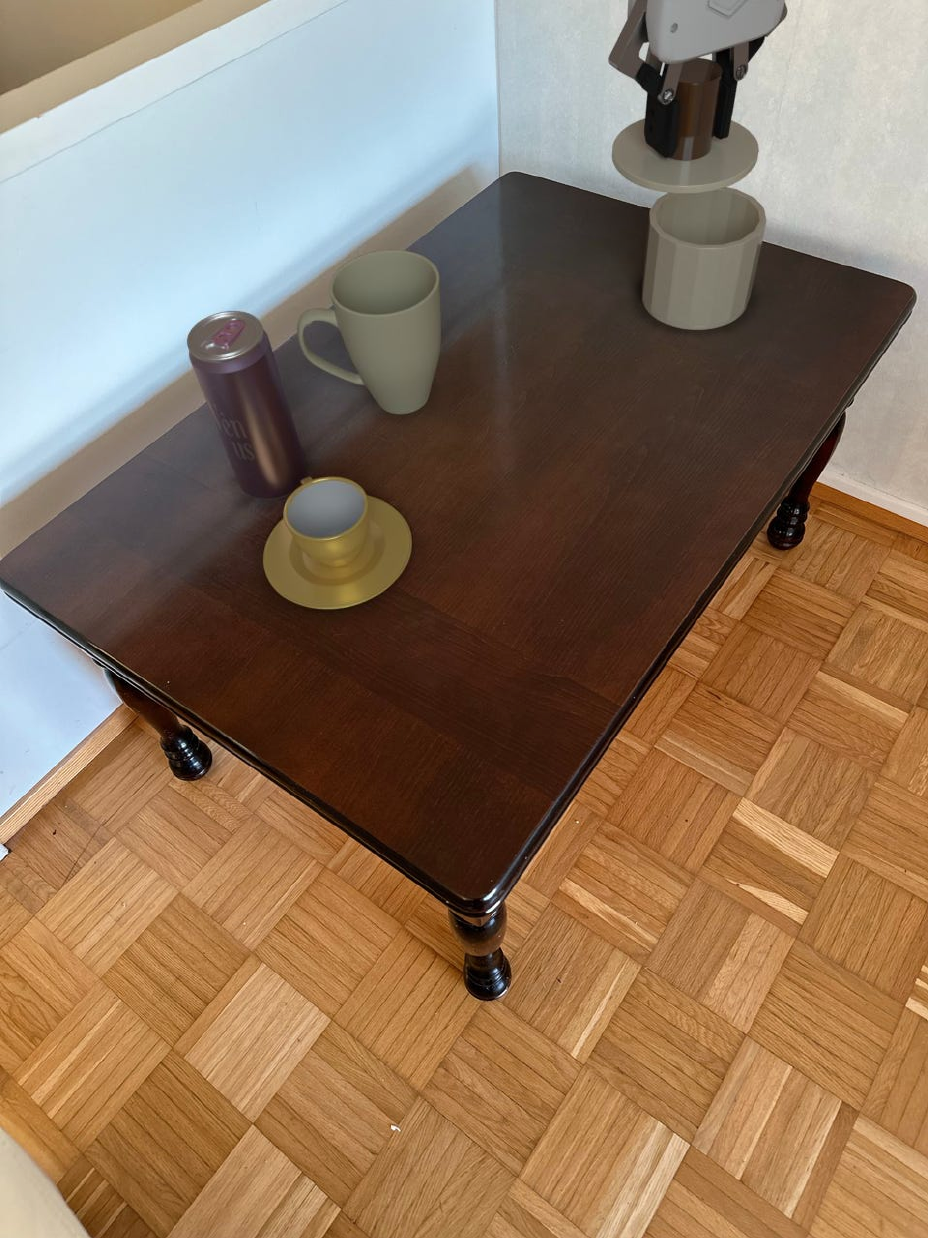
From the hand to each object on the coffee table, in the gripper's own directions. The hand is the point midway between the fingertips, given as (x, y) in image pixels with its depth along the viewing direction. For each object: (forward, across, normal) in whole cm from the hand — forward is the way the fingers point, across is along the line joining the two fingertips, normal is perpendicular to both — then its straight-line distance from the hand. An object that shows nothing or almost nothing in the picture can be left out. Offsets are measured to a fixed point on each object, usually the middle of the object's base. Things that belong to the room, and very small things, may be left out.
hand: (686, 137), depth 69 cm
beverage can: (+20, -38, +2) cm, 42 cm away
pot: (+19, +7, +5) cm, 21 cm away
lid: (+1, 0, 0) cm, 1 cm away
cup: (+20, -36, -8) cm, 41 cm away
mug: (+20, -25, +6) cm, 32 cm away
